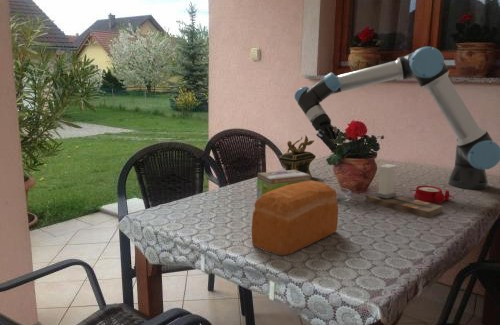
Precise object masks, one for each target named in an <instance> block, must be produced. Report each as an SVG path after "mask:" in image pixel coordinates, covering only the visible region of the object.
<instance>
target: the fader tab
mask: <svg viewBox="0 0 500 325" xmlns="http://www.w3.org/2000/svg"><path fill="white" fill-rule="evenodd" d="M397 169H398V165H396V164H391V163H386V164H381V165H378V166H377V170H379V182H378V191H376V192H375V193H374V194H375V196H379V197H383V198H387V199H388V198H391V197H394V196H397V192H396V191H394V189H395V188H394V185H395V171H396V170H397Z"/></svg>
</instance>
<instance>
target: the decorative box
mask: <svg viewBox="0 0 500 325" xmlns="http://www.w3.org/2000/svg"><path fill="white" fill-rule="evenodd" d="M304 136H305V137H304V141H303V142H300V141H302V140H303V136H301V137H300V139H298V140H297V141H295V142H294V143H293V142H292V141H290V140H288V141H287V143H286V144H287V147H288V149H287V152H285V153H283V154H282V155H280V156H279V157H278V158H279V161H280V162H281V163H282V164H283V165H284V171H285V170H297V171H300V172H303V173H306V174H309V175H311V177H312V176H313V175H312V173H311V171H310V165H311V163H312V162H313V161H314V160H315V159H316V155H315V154H314V153H312V152H310V151H306V149H307V146H311V145H313V144H314V142H315V140H309V137H307V135H306V134H305V135H304ZM299 142H300V143H299ZM297 143H299V145H298V148H297V147H296V146H295V145H297Z"/></svg>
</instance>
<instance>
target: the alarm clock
mask: <svg viewBox="0 0 500 325" xmlns="http://www.w3.org/2000/svg"><path fill="white" fill-rule="evenodd" d="M411 191H413V192H414V194H413V198H414V199H415V200H419V201H424V202H428V203H434V204H435V203H436V204H442V203H443V202H446V201H451V200H454V199H455V196H452V195H450V191H449V190H447V189H446V190H445V193H443V190H442V189H441V187H438V186H433V185H417V186H416V187H415V189H411Z"/></svg>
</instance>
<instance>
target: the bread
mask: <svg viewBox="0 0 500 325" xmlns="http://www.w3.org/2000/svg"><path fill="white" fill-rule="evenodd" d="M337 195H338V194H337V191H336V189H334V188H333V187H331V186H330V185H328V184H326V183H324V182H321V181H318V180H317V181H316V180H310V181H305V182H300V183H295V184H290V185H287V186H283V187H280V188H278V189H275V190H272V191H270V192H267V193H265V194H263V195H262V196H261V197H260V198H258V199H257V198H256V200H255V202H254V210H253V211H252V221H251V241H252V245H253V246H255V247H256V246H257V247H256V248H258V247H259V248H258V249H260V248H262V249H264V250H263V251H265V250H267V251H266V252H268V251H270V252H269V253H271V252H272V254H275V253H276V255H279V254H280V255H279V256H288V254H289V255H291V254H292V253H294V252H296V251H298V250H301V249H304V248H306V247H308V246H310V245H311V244H315V243H317V242H318V241H320V240H322V239H324V238H327V237H329V236H331V235H332V234H334V233H336V231H337V229H338V222H339V221H338V217H339V205H338V201H337ZM262 249H261V250H262Z"/></svg>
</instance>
